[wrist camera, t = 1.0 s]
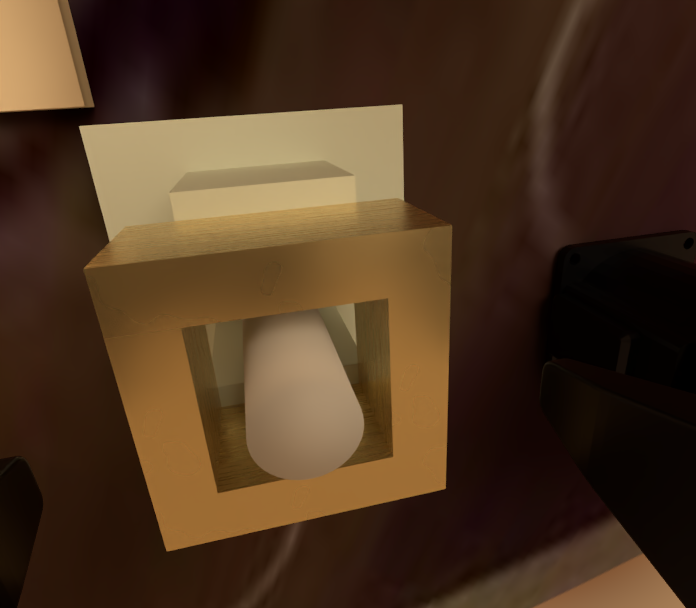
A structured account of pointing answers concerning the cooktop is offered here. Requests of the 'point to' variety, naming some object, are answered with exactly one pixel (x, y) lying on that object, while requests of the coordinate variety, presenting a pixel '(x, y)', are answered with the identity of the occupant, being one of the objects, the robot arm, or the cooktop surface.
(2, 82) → the pad
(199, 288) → the collar
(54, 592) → the cooktop surface
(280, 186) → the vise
